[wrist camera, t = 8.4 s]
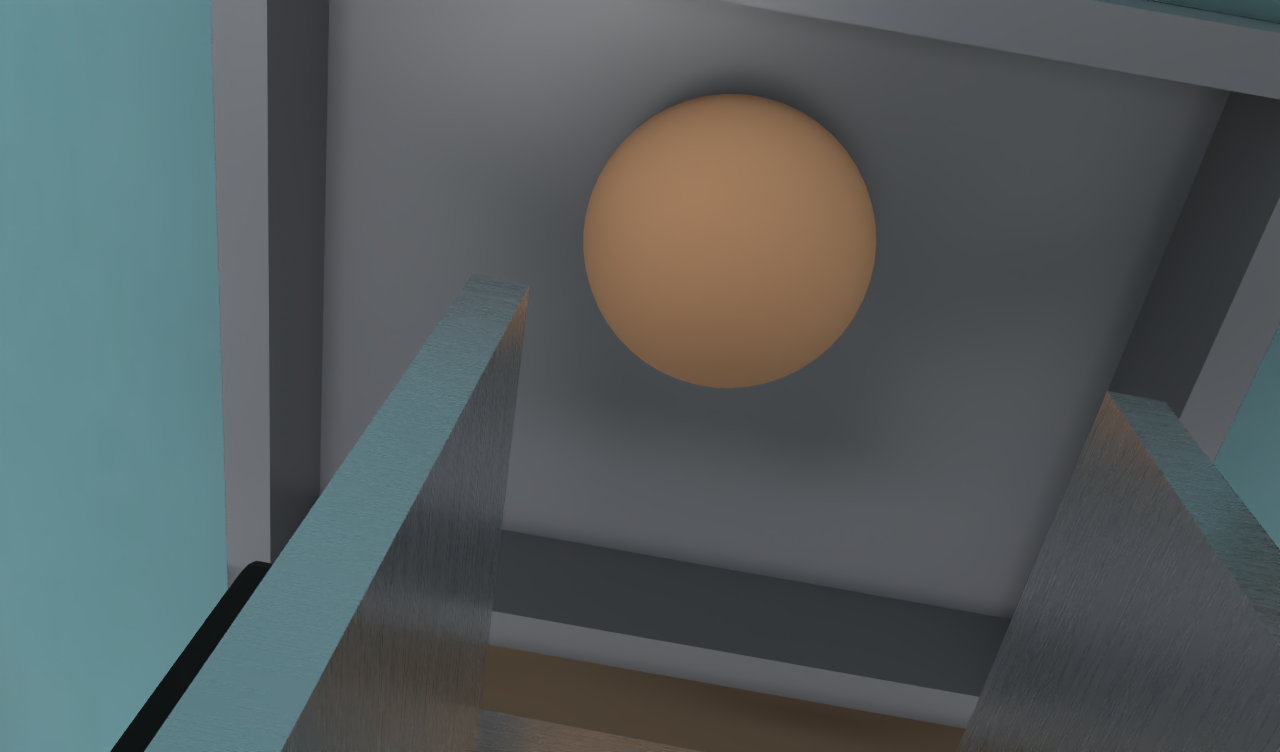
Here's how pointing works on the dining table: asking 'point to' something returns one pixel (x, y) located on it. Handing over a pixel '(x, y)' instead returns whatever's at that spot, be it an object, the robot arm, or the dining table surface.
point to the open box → (528, 748)
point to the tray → (787, 407)
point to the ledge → (692, 710)
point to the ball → (729, 240)
